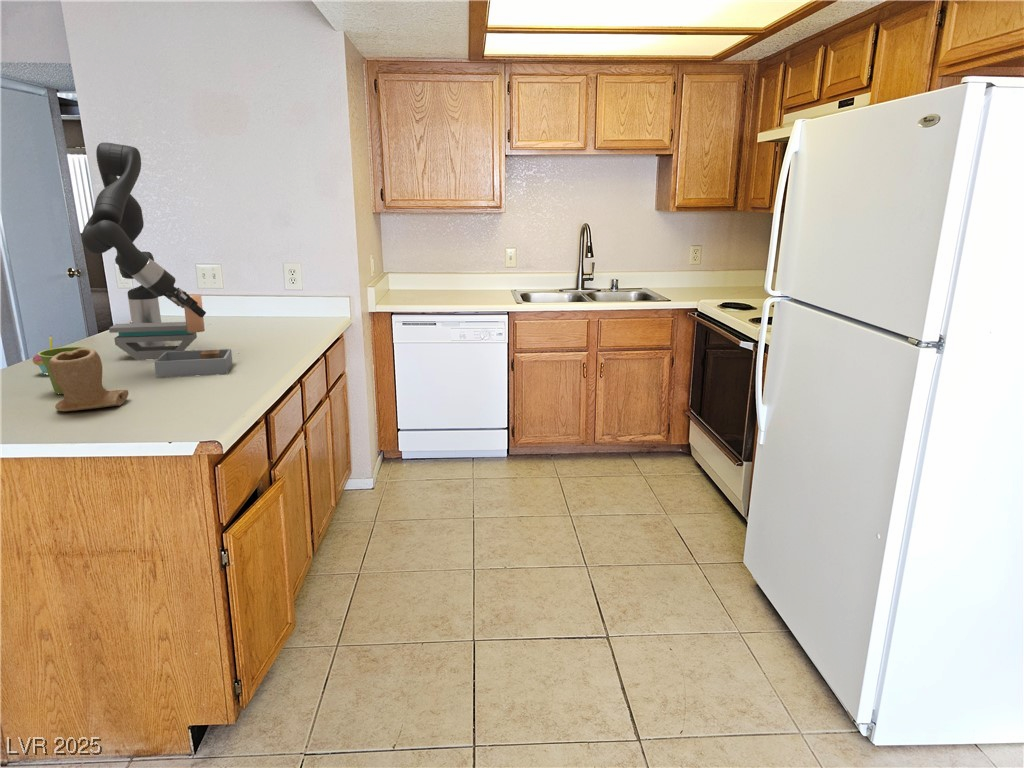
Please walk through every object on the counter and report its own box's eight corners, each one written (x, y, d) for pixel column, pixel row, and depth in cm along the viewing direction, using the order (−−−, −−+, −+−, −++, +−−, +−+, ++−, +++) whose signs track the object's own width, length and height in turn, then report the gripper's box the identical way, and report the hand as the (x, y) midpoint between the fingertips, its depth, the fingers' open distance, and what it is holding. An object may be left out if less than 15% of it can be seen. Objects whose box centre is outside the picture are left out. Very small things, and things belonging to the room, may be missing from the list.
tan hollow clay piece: (50, 418, 154) (38, 357, 150) (61, 405, 164) (51, 346, 160) (123, 412, 159) (114, 352, 155) (130, 399, 170) (122, 342, 166)
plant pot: (41, 400, 168) (34, 357, 165) (48, 388, 178) (41, 348, 175) (95, 394, 173) (88, 353, 170) (99, 384, 184) (92, 345, 181)
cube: (201, 369, 198) (200, 353, 197) (204, 366, 203) (202, 350, 201) (219, 369, 200) (217, 353, 198) (221, 365, 204) (220, 349, 203)
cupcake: (76, 371, 196) (70, 332, 193) (49, 378, 189) (42, 337, 186) (56, 369, 199) (49, 330, 196) (28, 375, 191) (20, 335, 188)
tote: (156, 377, 191) (154, 361, 190) (166, 366, 204) (164, 351, 203) (226, 374, 196) (225, 358, 195) (232, 363, 209) (231, 348, 208)
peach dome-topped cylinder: (185, 332, 198) (181, 296, 195) (188, 330, 202) (184, 294, 200) (203, 332, 199) (200, 296, 197) (205, 329, 204) (202, 294, 201)
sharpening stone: (202, 352, 224) (198, 321, 221) (197, 357, 217) (194, 325, 214) (121, 356, 218) (116, 323, 215) (113, 361, 210) (108, 328, 208)
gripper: (171, 269, 186) (217, 307, 197) (152, 266, 195) (198, 302, 207) (153, 288, 184) (202, 326, 195) (136, 285, 193) (183, 321, 205)
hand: (199, 314), depth 201 cm, fingers closed on peach dome-topped cylinder, 5 cm apart
